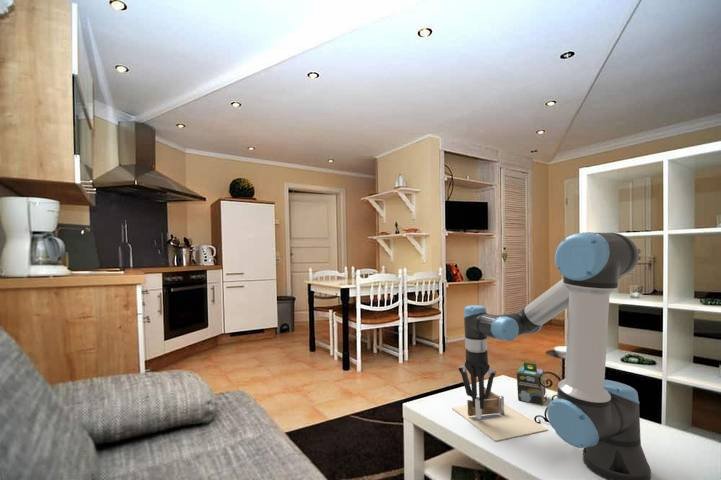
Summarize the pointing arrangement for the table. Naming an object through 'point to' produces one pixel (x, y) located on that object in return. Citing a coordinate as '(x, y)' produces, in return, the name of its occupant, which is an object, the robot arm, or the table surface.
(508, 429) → the card
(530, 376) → the chalk box
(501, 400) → the hinge post
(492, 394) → the fixed panel
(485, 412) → the hinged panel
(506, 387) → the table surface
